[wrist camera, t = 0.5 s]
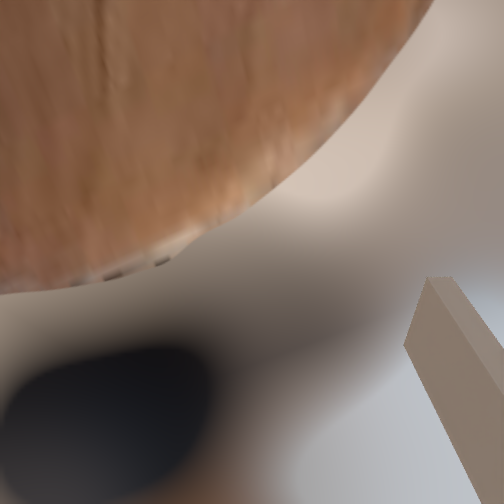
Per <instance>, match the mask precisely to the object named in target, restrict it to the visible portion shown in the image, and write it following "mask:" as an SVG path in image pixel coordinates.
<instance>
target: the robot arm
mask: <svg viewBox="0 0 504 504" xmlns="http://www.w3.org/2000/svg"><path fill="white" fill-rule="evenodd" d="M404 347H405V349H406V351H407V353H408V355H409V357H410V359H411V361H412V363H413V365H414V367H415V369H416V371H417V373H418V376H419V378H420V380H421V381H422V384H423V386H424V388H425V390H426V392H427V394H428V396H429V398H430V400H431V402H432V404H433V406H434V408H435V410H436V412H437V414H438V416H439V418H440V420H441V422H442V424H443V426H444V428H445V430H446V432H447V434H448V436H449V438H450V440H451V442H452V445H453V447H454V449H455V451H456V453H457V455H458V457H459V459H460V461H461V463H462V465H463V467H464V469H465V471H466V473H467V475H468V477H469V479H470V481H471V483H472V485H473V487H474V489H475V491H476V493H477V495H478V497H479V499H480V501H481V504H504V349H503V347H502V346H501V345H500V343H499V342H498V341H497V339H496V338H495V336H494V335H493V334H492V332H491V331H490V330H489V328H488V326H487V325H486V324H485V322H484V321H483V320H482V318H481V317H480V315H479V314H478V313H477V311H476V310H475V308H474V307H473V306H472V304H471V303H470V301H469V300H468V299H467V297H466V296H465V294H464V293H463V292H462V290H461V289H460V287H459V286H458V285H457V283H456V282H455V281H454V279H453V278H452V277H427V278H426V281H425V284H424V287H423V290H422V293H421V296H420V299H419V301H418V304H417V307H416V310H415V313H414V316H413V319H412V322H411V325H410V328H409V331H408V333H407V336H406V339H405V342H404Z"/></svg>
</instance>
